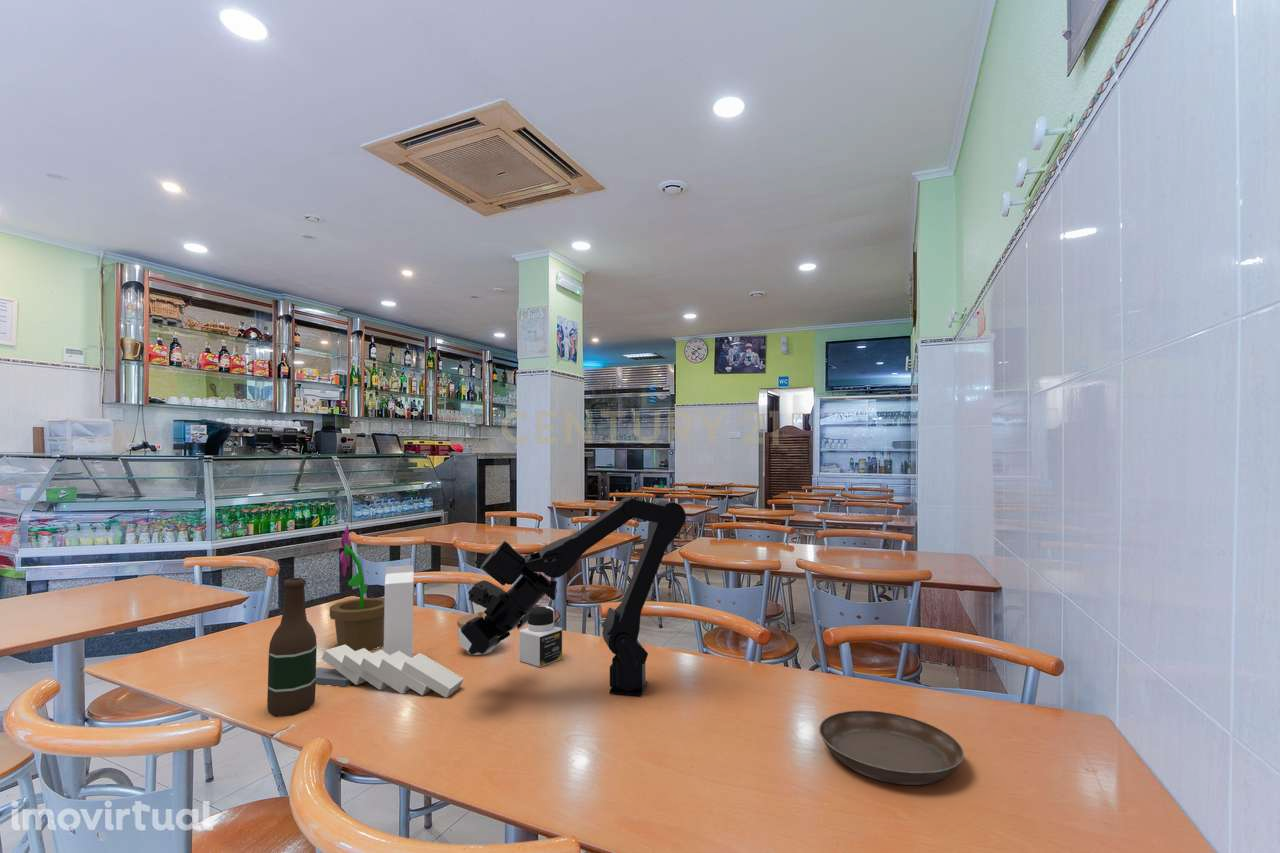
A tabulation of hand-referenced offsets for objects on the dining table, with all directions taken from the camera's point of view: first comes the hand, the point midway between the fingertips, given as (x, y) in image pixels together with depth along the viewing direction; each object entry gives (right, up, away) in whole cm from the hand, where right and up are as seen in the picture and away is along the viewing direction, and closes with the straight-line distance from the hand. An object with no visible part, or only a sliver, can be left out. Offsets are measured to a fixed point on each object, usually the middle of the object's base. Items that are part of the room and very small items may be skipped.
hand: (470, 652), depth 116 cm
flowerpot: (-36, -10, +29) cm, 47 cm away
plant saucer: (+73, -7, -25) cm, 77 cm away
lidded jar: (-5, -10, +25) cm, 27 cm away
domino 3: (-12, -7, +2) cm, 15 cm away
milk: (-21, -9, +16) cm, 28 cm away
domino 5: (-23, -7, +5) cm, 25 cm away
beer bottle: (-32, -8, -7) cm, 33 cm away
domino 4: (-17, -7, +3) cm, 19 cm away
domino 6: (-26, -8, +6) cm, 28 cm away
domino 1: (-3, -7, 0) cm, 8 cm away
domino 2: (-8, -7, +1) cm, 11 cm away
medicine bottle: (+11, -9, +18) cm, 23 cm away
